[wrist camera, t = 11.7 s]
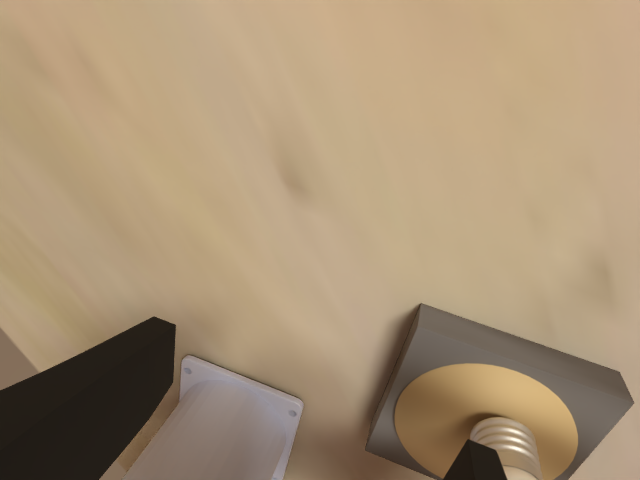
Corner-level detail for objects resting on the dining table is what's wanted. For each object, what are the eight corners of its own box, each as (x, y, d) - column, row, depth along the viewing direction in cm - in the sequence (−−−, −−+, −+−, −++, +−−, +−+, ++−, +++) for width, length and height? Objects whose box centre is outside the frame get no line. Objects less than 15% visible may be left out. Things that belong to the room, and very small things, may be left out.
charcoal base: (528, 486, 23) (534, 523, 21) (371, 423, 24) (364, 453, 23) (619, 372, 18) (636, 406, 17) (421, 303, 20) (417, 329, 18)
